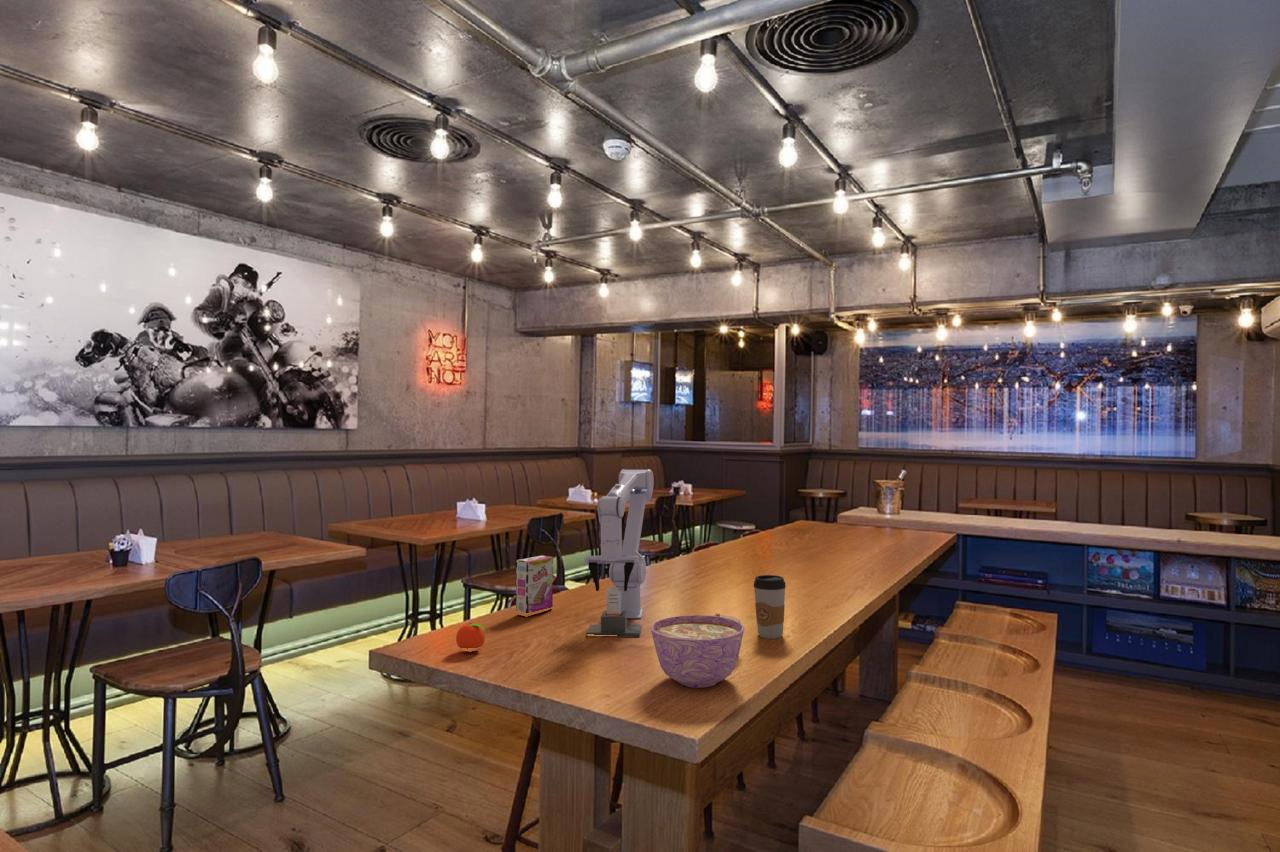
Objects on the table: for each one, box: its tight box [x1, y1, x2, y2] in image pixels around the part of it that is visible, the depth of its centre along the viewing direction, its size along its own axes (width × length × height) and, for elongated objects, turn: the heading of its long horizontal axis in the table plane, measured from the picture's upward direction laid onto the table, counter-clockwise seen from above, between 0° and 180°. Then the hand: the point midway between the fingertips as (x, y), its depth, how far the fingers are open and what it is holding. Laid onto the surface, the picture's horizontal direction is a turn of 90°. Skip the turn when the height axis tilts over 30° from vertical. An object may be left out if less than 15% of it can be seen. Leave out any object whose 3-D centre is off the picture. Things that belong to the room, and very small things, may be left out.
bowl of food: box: [650, 614, 745, 689], centre depth 151 cm, size 20×20×12 cm
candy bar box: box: [515, 555, 554, 613], centre depth 212 cm, size 11×5×16 cm, turn 144°
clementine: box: [455, 622, 488, 649], centre depth 174 cm, size 8×7×7 cm
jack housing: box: [585, 610, 643, 638], centre depth 189 cm, size 8×14×5 cm, turn 86°
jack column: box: [606, 586, 622, 616], centre depth 189 cm, size 4×4×8 cm
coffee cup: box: [753, 574, 787, 640], centre depth 184 cm, size 8×8×15 cm
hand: (611, 590), depth 193 cm, fingers open, 7 cm apart
